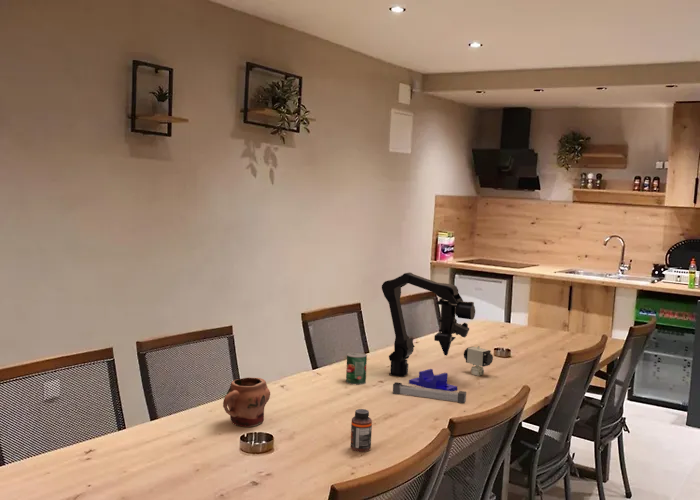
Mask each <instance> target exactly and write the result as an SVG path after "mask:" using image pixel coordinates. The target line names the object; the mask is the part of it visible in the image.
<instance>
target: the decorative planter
mask: <svg viewBox="0 0 700 500" xmlns="http://www.w3.org/2000/svg"><path fill="white" fill-rule="evenodd" d="M270 398H271V391H270V389H269V388H268V385H267V382H266V380H265V379H263V378H261V377H244V378H238V379H234V380H232V381H231V383H230V385H229V388H228V390H227V392H226V395H224V398H223V403H222V407H223V409H224V411H225V413H226V414H228V415H229V417H230V421H231V424H233V423H234V424H233V425H235V424H236V425H235V426H237V425H240V426H239V427H243V426H244V427H247V428H248V427H255V426H258V425H261V424H262V423H263V422H264V421H265V407H266V404H267V403H268V402H269V400H270Z"/></svg>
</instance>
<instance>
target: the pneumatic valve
mask: <svg viewBox="0 0 700 500" xmlns="http://www.w3.org/2000/svg"><path fill="white" fill-rule="evenodd" d="M463 358H464V359H465V363H466V364H471V365H472V366H471V368H470V372H471V373H470V374H471V375H473V376H477V377H480V376H482V375H484V374H485V370H484V368H485V367H488V366H490V365H491V364H493V363H492V362H493V360H494V355H493V354H492V353H491V350H490V349H485V348H481V347H480V346H477V347H476V346H470V347H467V348H465V350H464V351H463Z"/></svg>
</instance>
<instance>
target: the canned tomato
mask: <svg viewBox="0 0 700 500" xmlns="http://www.w3.org/2000/svg"><path fill="white" fill-rule="evenodd" d="M367 357H368V354H366V353H364V352H358V351H357V352H356V351H354V352H353V351H351V352H348V353H346V370H345V371H346V373H345V375H346V376H345V382H346V383H347V384H350V385H353V384H356V385H355V386H357V385H359V386H360V385H361V386H362V385H365V384H366V383H367V365H368V364H367V361H368V360H367V359H368V358H367Z"/></svg>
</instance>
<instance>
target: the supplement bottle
mask: <svg viewBox="0 0 700 500" xmlns="http://www.w3.org/2000/svg"><path fill="white" fill-rule="evenodd" d="M372 423H373V420H372V418H371V417H370V411H369V410H368V409H366V408H365V409H364V408H358V409H355V411H354V416H353V417H352V418H351V425H350V426H351V427H350V449H351V450H352V451H355V452H358V451H359V453H363V452H365V453H366V452H368V451H370V450H371V449H372V448H371V447H372V434H373V433H372V429H373V424H372Z"/></svg>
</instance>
